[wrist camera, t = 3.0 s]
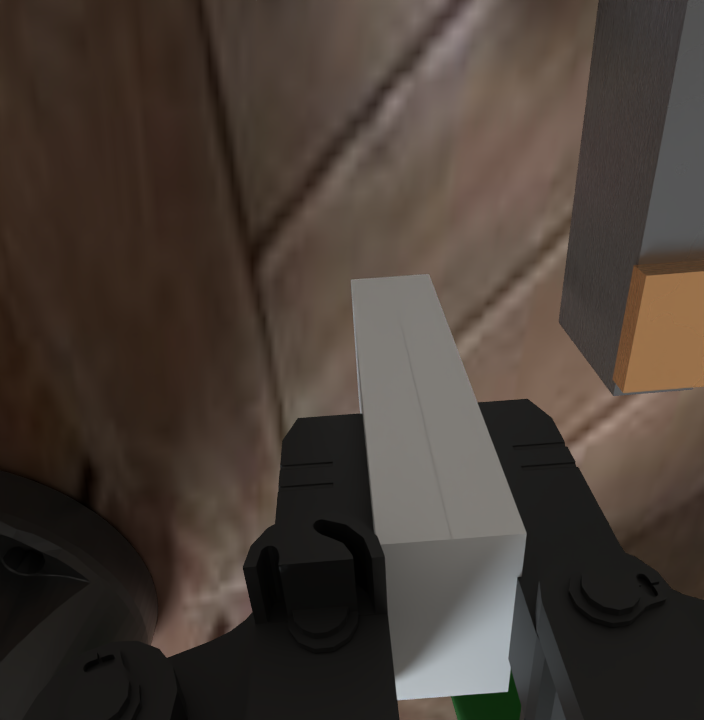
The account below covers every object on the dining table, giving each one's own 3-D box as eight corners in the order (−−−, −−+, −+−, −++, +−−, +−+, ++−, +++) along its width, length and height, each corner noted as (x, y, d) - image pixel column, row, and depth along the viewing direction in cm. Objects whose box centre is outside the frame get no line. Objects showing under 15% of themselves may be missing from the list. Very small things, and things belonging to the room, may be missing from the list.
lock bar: (633, -560, 10) (833, -905, 6) (822, -572, 10) (1139, -922, 6) (538, 323, 19) (599, 411, 15) (643, 315, 19) (730, 401, 15)
